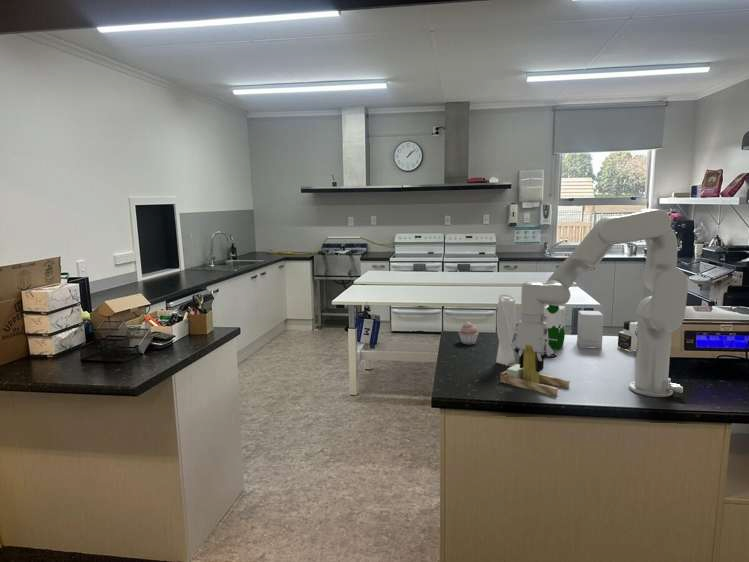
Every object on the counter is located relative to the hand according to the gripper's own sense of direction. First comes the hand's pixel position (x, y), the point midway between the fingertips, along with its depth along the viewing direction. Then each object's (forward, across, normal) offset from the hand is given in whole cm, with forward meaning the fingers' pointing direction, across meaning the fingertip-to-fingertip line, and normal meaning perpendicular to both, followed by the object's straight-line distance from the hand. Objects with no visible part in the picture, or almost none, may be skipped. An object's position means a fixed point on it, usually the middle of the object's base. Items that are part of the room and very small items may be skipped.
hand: (531, 368), depth 169 cm
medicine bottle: (+6, -12, -67) cm, 68 cm away
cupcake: (+6, +46, -31) cm, 55 cm away
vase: (+6, 0, 0) cm, 6 cm away
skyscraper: (+6, +18, -15) cm, 24 cm away
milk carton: (+6, +14, -49) cm, 51 cm away
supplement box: (+6, +2, -61) cm, 61 cm away
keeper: (+5, +5, 0) cm, 7 cm away
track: (+5, -1, 0) cm, 6 cm away
